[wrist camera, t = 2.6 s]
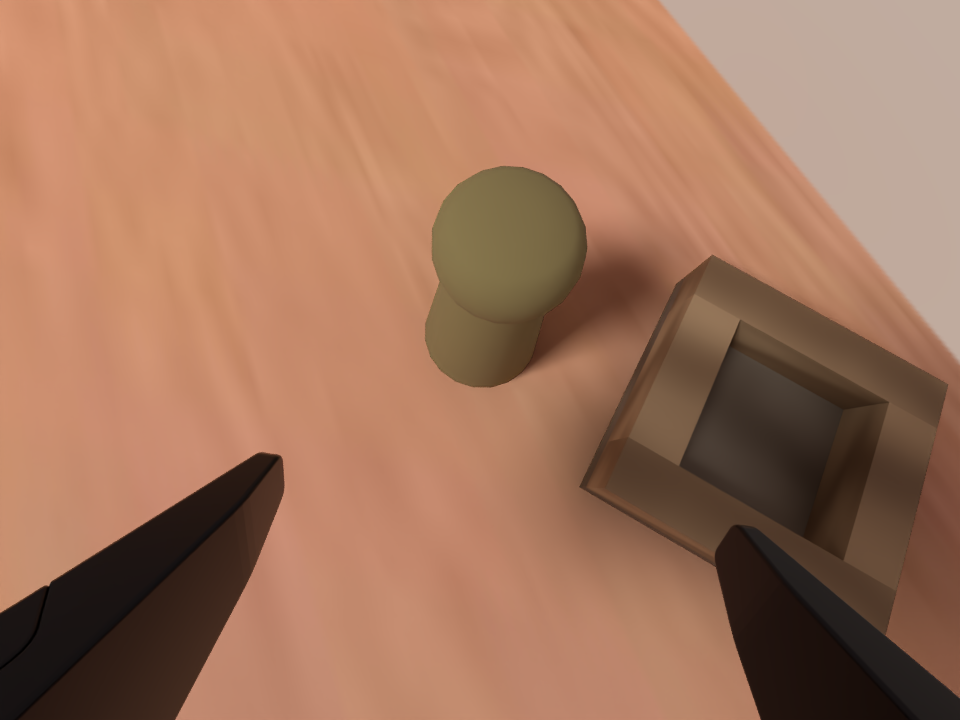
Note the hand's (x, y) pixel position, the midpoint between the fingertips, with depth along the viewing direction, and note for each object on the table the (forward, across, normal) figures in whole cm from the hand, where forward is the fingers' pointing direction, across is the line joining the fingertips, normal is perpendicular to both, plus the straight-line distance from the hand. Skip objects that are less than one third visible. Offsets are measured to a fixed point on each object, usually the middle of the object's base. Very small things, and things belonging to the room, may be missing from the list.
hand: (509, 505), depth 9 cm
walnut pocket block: (+13, -14, +6) cm, 20 cm away
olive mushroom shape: (+16, 0, +4) cm, 16 cm away
